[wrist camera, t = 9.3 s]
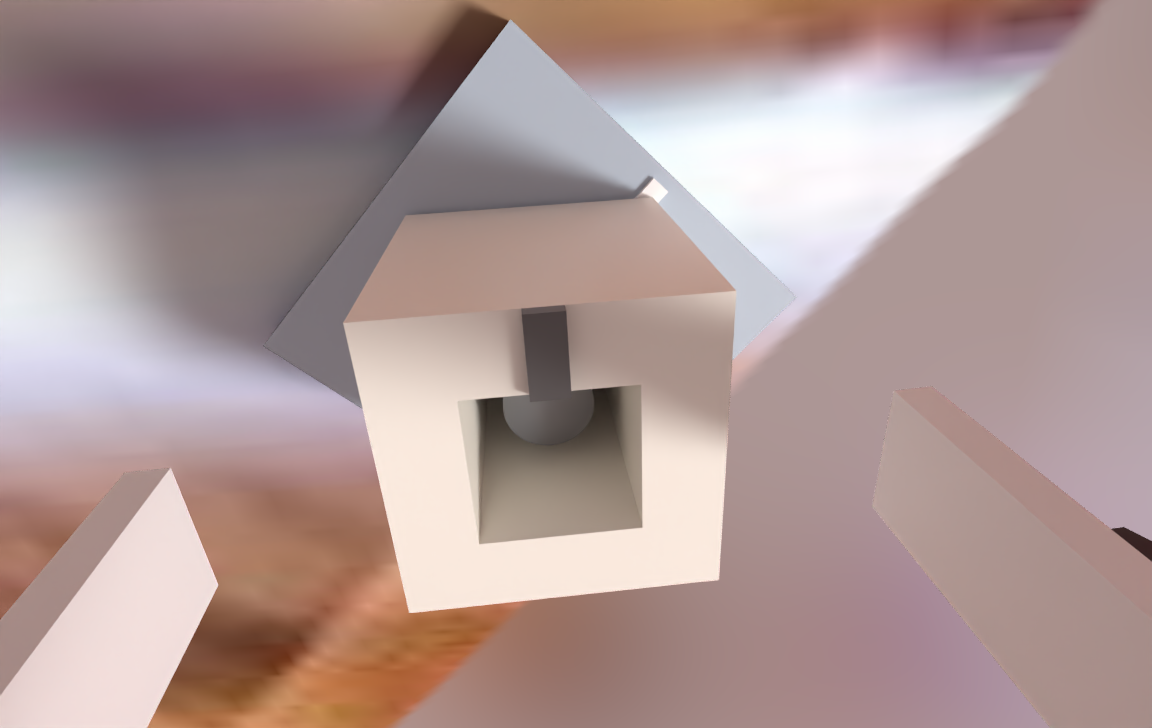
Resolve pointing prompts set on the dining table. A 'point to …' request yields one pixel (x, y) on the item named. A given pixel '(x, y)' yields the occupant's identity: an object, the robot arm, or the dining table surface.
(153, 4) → the dining table surface
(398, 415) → the cube with square hole
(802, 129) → the dining table surface
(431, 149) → the plate
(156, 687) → the robot arm
